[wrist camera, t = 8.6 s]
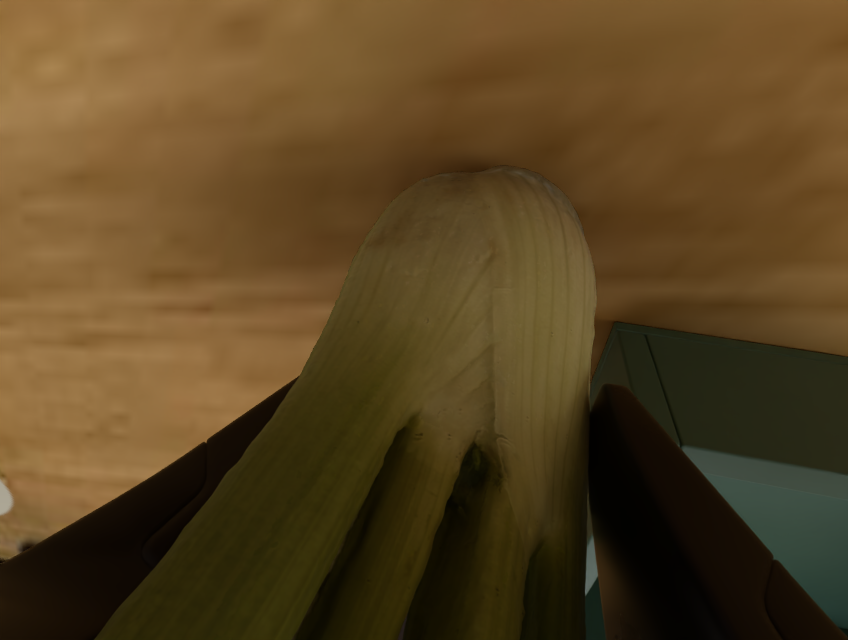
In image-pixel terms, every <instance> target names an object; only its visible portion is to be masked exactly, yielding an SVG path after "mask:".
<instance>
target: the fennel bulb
mask: <svg viewBox="0 0 848 640" xmlns="http://www.w3.org/2000/svg"><path fill="white" fill-rule="evenodd" d="M596 295H597V292H596V277H595V271H594V265H593V261H592V258H591V253H590V250H589V247H588V244H587V242H586V240H585V238H584V232H583V227H582V225H581V222H580V220H579V217H578V215H577V212H576V211H575V209H574V207H573V206H572V204H571V202H570V201H569V199H568V198H567V196H566V195H565V194H564V193H563V192H562V191H561V190H560V189H559V188H558V187H556V186H555V185H554V184H553V183H551V182H550V181H548V180H547V179H545V178H544V177H543V176H541V175H540V174H538V173H536V172H533V171H530V170H527V169H524V168H518V167H511V166H495V167H492V168H490V169H487V170H484V171H481V172H476V173H467V172H456V173H442V174H437V175H434V176H432V177H429V178H423V179H422V180H420V181H418V182H416V183H415V184H414V185H412V186H411V187H409V188H407V189H406V190H404V191H403V192H401V193H400V194H399V195H398V196H397V197H396V198H395V199H394V200H393V201H391V203H390V204H389V205H388V207H387V208H386V209H385V211H384V212H383V213H382V215H381V216H380V217H379V219H378V220H377V222H376V223H375V224H374V226H373V228H372V229H371V230H370V232H369V233H368V234H367V236H366V238H365V240H364V242H363V244H362V245H361V246H360V247H359V250H358V252H357V254H356V255H355V256H354V258H353V260H352V263H351V266H350V268H349V270H348V274H347V276H346V279H345V282H344V284H343V287H342V289H341V292H340V295H339V298H338V299H337V300H336V302H335V306H334V308H333V310H332V312H331V314H330V317H329V319H328V321H327V324H326V326H325V327H324V329H323V331H322V334H321V336H320V338H319V339H318V341H317V343H316V345H315V346H314V348H313V351H312V352H311V354H310V357H309V359H308V360H307V362H306V364H305V366H304V368H303V370H302V372H301V374H300V376H299V378H298V379H297V381H296V382H295V384H294V385H293V386H292V388H291V389H290V390H289V392H288V393H287V395H286V397H285V399H284V400H283V401H282V402H281V404H280V405H279V407H278V408H277V410H276V412H275V413H274V415H273V417H272V418H271V420H270V421H269V422H268V423H267V424H266V425H265V427H264V428H263V429H262V431H261V432H260V433H259V435H258V436H257V437H256V438H255V439H254V440H253V441H252V442H251V444H250V445H249V446H248V448H247V449H246V451H245V453H244V454H243V456H242V458H241V459H240V460H239V461H238V463H237V464H236V465H235V466H233V467H232V468H231V469H230V470H229V471H228V472H227V473H226V474H225V476H224V477H223V479H222V480H221V482H220V484H219V485H218V487H217V488H216V490H215V491H214V493H213V494H212V496H211V497H210V498H209V499H208V501H207V502H206V503H205V504H204V505H203V507H202V508H201V509H200V510H199V511H198V512H197V514H196V515H195V516H194V517H193V519H192V520H191V521H190V522H189V523H188V524H187V525H186V526H185V527H184V529H183V530H182V532H181V533H180V535H179V537H178V538H177V540H176V541H175V543H174V544H173V545H172V547H171V548H170V549H169V551H168V552H167V553H166V555H165V556H164V557H163V558H162V560H161V561H160V562H159V563H158V564H157V566H156V567H155V568H154V569H153V570H152V571H151V572H150V574H149V575H148V576H147V577H146V578H145V579H144V580H143V581H142V583H141V584H140V585H139V586H138V587H137V588H136V589H135V590H134V591H133V592H132V593H131V594H130V595H129V597H128V598H127V599H126V600H125V601H124V602H123V603H122V604H121V605H120V607H119V608H118V609H117V610H116V611H115V613H114V614H113V615H112V617H111V618H110V619H109V621H108V622H107V623H106V625H105V626H104V628H103V629H102V630H101V632H100V633H99V634H98V635H97V637H96V638H95V639H94V640H398V637H399V634H400V631H401V628H402V626H403V623H404V621H405V618H406V616H407V620H406V624H405V629H404V633H403V640H586V624H585V617H586V614H585V583H586V559H587V518H588V509H587V502H588V494H589V493H588V464H589V435H590V400H589V395H590V371H591V354H592V345H593V340H594V337H595V329H594V317H595V309H596V304H597V299H596ZM407 613H408V615H407Z"/></svg>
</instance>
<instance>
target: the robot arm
mask: <svg viewBox="0 0 848 640" xmlns="http://www.w3.org/2000/svg"><path fill="white" fill-rule="evenodd" d="M298 378H299V376H298V377H297V378H295V379H294V380H292V381H291V382H290V383H288V384H287V385H285V386H284V387H282V388H281V389H279V390H278V391H277V392H275V393H274V394H272V395H271V396H269V397H268V398H266V399H265V400H264V401H262V402H261V403H259V404H258V405H256V406H255V407H253V408H252V409H251V410H249V411H248V412H246V413H245V414H243V415H242V416H240V417H239V418H237V419H236V420H235V421H233V422H232V423H230V424H229V425H227V426H226V427H224V428H223V429H222V430H220V431H219V432H217V433H216V434H214V435H213V436H211V437H210V438H209V439H208V440H207V443H205V442H203V443H201V444H200V445H198V446H197V447H195V448H194V449H192V450H191V451H189V452H188V453H187V454H185V455H184V456H182V457H181V458H179V459H178V460H176V461H175V462H173V463H172V464H170V465H169V466H167V467H165V468H164V469H162V470H161V471H159V472H158V473H156V474H155V475H153V476H152V477H150V478H148V479H147V480H145V481H143V482H142V483H140V484H139V485H137V486H135V487H134V488H132V489H130V490H129V491H127V492H125V493H124V494H122V495H120V496H119V497H117V498H115V499H114V500H112V501H110V502H108V503H107V504H105V505H103V506H102V507H100V508H98V509H96V510H95V511H93V512H91V513H90V514H88V515H86V516H84V517H83V518H81V519H79V520H78V521H76V522H74V523H72V524H71V525H69V526H67V527H65V528H64V529H62V530H60V531H59V532H57V533H55V534H53V535H52V536H50V537H48V538H47V539H45V540H43V541H41V542H40V543H38V544H36V545H35V546H33V547H31V548H29V549H28V550H26V551H24V552H22V553H20V554H18V555H17V556H15V557H13V558H11V559H9V560H7V561H5V562H3V563H1V564H0V640H94V639H95V638H96V637H97V635H98V634H99V633H100V632H101V630H102V629H103V628H104V626H105V625H106V623H107V622H108V621H109V619H110V618H111V617H112V615H113V614H114V613H115V611H116V610H117V609H118V608H119V607H120V605H121V604H122V603H123V602H124V601H125V600H126V599H127V598H128V597H129V595H130V594H131V593H132V592H133V591H134V590H135V589H136V588H137V587H138V586H139V585H140V584H141V583H142V581H143V580H144V579H145V578H146V577H147V576H148V575H149V574H150V572H151V571H152V570H153V569H154V568H155V567H156V566H157V564H158V563H159V562H160V561H161V560H162V558H163V557H164V556H165V555H166V553H167V552H168V551H169V549H170V548H171V547H172V545H173V544H174V543H175V541H176V540H177V538H178V537H179V535H180V533H181V532H182V530H183V529H184V527H185V526H186V525H187V524H188V523H189V522H190V521H191V520H192V519H193V517H194V516H195V515H196V514H197V512H198V511H199V510H200V509H201V508H202V507H203V505H204V504H205V503H206V502H207V501H208V499H209V498H210V497H211V496H212V494H213V493H214V491H215V490H216V488H217V487H218V485H219V484H220V482H221V480H222V479H223V477H224V476H225V474H226V473H227V472H228V471H229V470H230V469H231V468H232V467H233V466H235V465H236V464H237V463H238V461H239V460H240V459H241V458H242V456H243V454H244V453H245V451H246V449H247V448H248V446H249V445H250V444H251V442H252V441H253V440H254V439H255V438H256V437H257V436H258V435H259V433H260V432H261V431H262V429H263V428H264V427H265V425H266V424H267V423H268V422H269V421H270V420H271V418H272V417H273V415H274V413H275V412H276V410H277V408H278V407H279V405H280V404H281V402H282V401H283V400H284V399H285V397H286V395H287V393H288V392H289V390H290V389H291V388H292V386H293V385H294V384H295V382H296V381H297V379H298ZM588 493H589V508H590V516H591V524H592V532H593V540H594V548H595V556H596V564H597V572H598V580H599V587H600V595H601V603H602V611H603V619H604V627H605V635H606V640H848V637H847V636H846V635H845V634H844V633H843V632H842V631H841V630H840V629H839V627H838V626H837V625H836V624H835V623H834V622H833V621H832V620H831V619H830V618H829V617H828V615H827V614H826V613H825V612H824V611H823V610H822V609H821V608H820V607H819V605H818V604H817V603H816V602H815V601H814V600H813V599H812V598H811V597H810V596H809V594H808V593H807V592H806V591H805V590H804V589H803V588H802V587H801V586H800V584H799V583H798V582H797V581H796V580H795V579H794V578H793V576H792V575H791V574H790V573H789V572H788V571H787V570H786V568H785V567H784V566H783V565H782V564H781V563H780V561H778V560H776V559H774V560H773V558H774V556H773V554H772V553H771V551H770V550H769V549H768V548H767V547H766V546H765V545H764V543H763V542H762V541H761V540H760V539H759V538H758V536H757V535H756V534H755V533H754V532H753V531H752V530H751V528H750V527H749V526H748V525H747V524H746V523H745V522H744V520H743V519H742V518H741V517H740V516H739V515H738V514H737V512H736V511H735V510H734V509H733V508H732V507H731V505H730V504H729V503H728V502H727V501H726V500H725V499H724V497H723V496H722V495H721V494H720V493H719V492H718V491H717V489H716V488H715V487H714V486H713V485H712V484H711V483H710V481H709V480H708V479H707V478H706V477H705V476H704V474H703V473H702V472H701V471H700V470H699V469H698V468H697V466H696V465H695V464H694V463H693V462H692V461H691V460H690V458H689V457H688V456H687V455H686V454H685V453H684V452H683V450H682V449H681V448H680V447H679V446H678V445H677V443H676V442H675V441H674V440H673V439H672V438H671V437H670V435H669V434H668V433H667V432H666V431H665V430H664V429H663V427H662V426H661V425H660V424H659V423H658V422H657V421H656V419H655V418H654V417H653V416H652V415H651V414H650V412H649V411H648V410H647V409H646V408H645V407H644V406H643V404H642V403H641V402H640V401H639V400H638V399H637V398H636V396H635V395H634V394H633V393H632V392H631V391H630V390H629V389H628V388H627V387H626V386H623V385H617V384H611V383H604V384H602V386H601V387H600V389H599V391H598V394H597V396H596V399H595V401H594V404H593V406H592V408H591V411H590V435H589V464H588Z"/></svg>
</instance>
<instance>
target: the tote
mask: <svg viewBox="0 0 848 640" xmlns="http://www.w3.org/2000/svg"><path fill="white" fill-rule="evenodd" d="M604 383H611V384H617V385H623V386H626V387H627V388H628V389H629V390H630V391H631V392H632V393H633V394H634V395H635V396H636V398H637V399H638V400H639V401H640V402H641V403H642V404H643V406H644V407H645V408H646V409H647V410H648V411H649V412H650V414H651V415H652V416H653V417H654V418H655V419H656V421H657V422H658V423H659V424H660V425H661V426H662V427H663V429H664V430H665V431H666V432H667V433H668V434H669V435H670V437H671V438H672V439H673V440H674V441H675V442H676V443H677V445H678V446H679V447H680V448H681V449H682V450H683V452H684V453H685V454H686V455H687V456H688V457H689V458H690V460H691V461H692V462H693V463H694V464H695V465H696V466H697V468H698V469H699V470H700V471H701V472H702V473H703V474H704V476H705V477H706V478H707V479H708V480H709V481H710V483H711V484H712V485H713V486H714V487H715V488H716V489H717V491H718V492H719V493H720V494H721V495H722V496H723V497H724V499H725V500H726V501H727V502H728V503H729V504H730V505H731V507H732V508H733V509H734V510H735V511H736V512H737V514H738V515H739V516H740V517H741V518H742V519H743V520H744V522H745V523H746V524H747V525H748V526H749V527H750V528H751V530H752V531H753V532H754V533H755V534H756V535H757V536H758V538H759V539H760V540H761V541H762V542H763V543H764V545H765V546H766V547H767V548H768V549H769V550H770V551H771V553H772V554H773V556H774V558H773V560H774V559H776V560H778V561H780V563H781V564H782V565H783V566H784V567H785V568H786V570H787V571H788V572H789V573H790V574H791V575H792V576H793V578H794V579H795V580H796V581H797V582H798V583H799V584H800V586H801V587H802V588H803V589H804V590H805V591H806V592H807V593H808V594H809V596H810V597H811V598H812V599H813V600H814V601H815V602H816V603H817V604H818V605H819V607H820V608H821V609H822V610H823V611H824V612H825V613H826V614H827V615H828V617H829V618H830V619H831V620H832V621H833V622H834V623H835V624H836V625H837V626H838V627H839V629H840V630H841V631H842V632H843V633H844V634H845V635H846V636H847V637H848V357H843V356H837V355H830V354H824V353H817V352H810V351H804V350H797V349H791V348H784V347H778V346H771V345H764V344H758V343H751V342H745V341H738V340H732V339H725V338H718V337H712V336H705V335H699V334H692V333H686V332H679V331H673V330H666V329H659V328H653V327H646V326H640V325H633V324H627V323H620V322H615V323H614V325H613V328H612V330H611V333H610V336H609V338H608V341H607V343H606V346H605V348H604V351H603V354H602V356H601V359H600V361H599V364H598V366H597V369H596V372H595V374H594V377H593V379H592V382H591V384H590V395H589V400H590V411H591V408H592V406H593V404H594V401H595V399H596V396H597V394H598V391H599V389H600V387H601V386H602V384H604ZM587 509H588V518H587V559H586V583H585V614H586V617H585V624H586V640H606V635H605V627H604V619H603V611H602V603H601V595H600V587H599V580H598V572H597V564H596V556H595V548H594V540H593V532H592V524H591V516H590V508H589V494H588V502H587Z"/></svg>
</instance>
